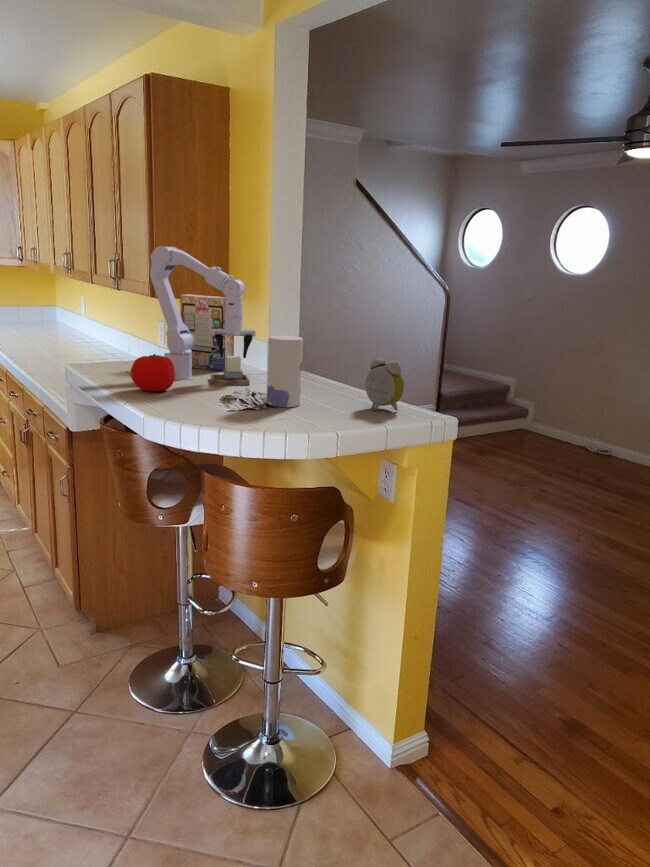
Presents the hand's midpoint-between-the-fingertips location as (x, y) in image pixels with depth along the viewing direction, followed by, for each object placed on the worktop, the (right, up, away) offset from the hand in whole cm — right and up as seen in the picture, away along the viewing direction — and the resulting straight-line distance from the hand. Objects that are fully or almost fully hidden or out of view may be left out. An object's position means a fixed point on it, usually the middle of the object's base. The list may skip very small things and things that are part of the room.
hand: (233, 357), depth 224 cm
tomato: (-23, -12, -16) cm, 30 cm away
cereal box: (-14, -1, +28) cm, 31 cm away
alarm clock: (+48, -19, -26) cm, 57 cm away
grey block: (0, -8, +2) cm, 8 cm away
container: (+18, -17, -25) cm, 35 cm away
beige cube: (0, -4, +1) cm, 4 cm away
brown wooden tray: (-1, -9, +2) cm, 9 cm away
